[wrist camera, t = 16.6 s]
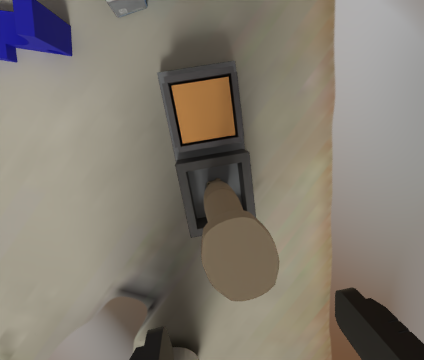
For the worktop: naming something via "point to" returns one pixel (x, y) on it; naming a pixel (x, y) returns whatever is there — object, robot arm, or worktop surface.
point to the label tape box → (126, 6)
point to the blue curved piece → (32, 30)
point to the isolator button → (204, 109)
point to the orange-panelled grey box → (208, 147)
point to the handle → (236, 246)
